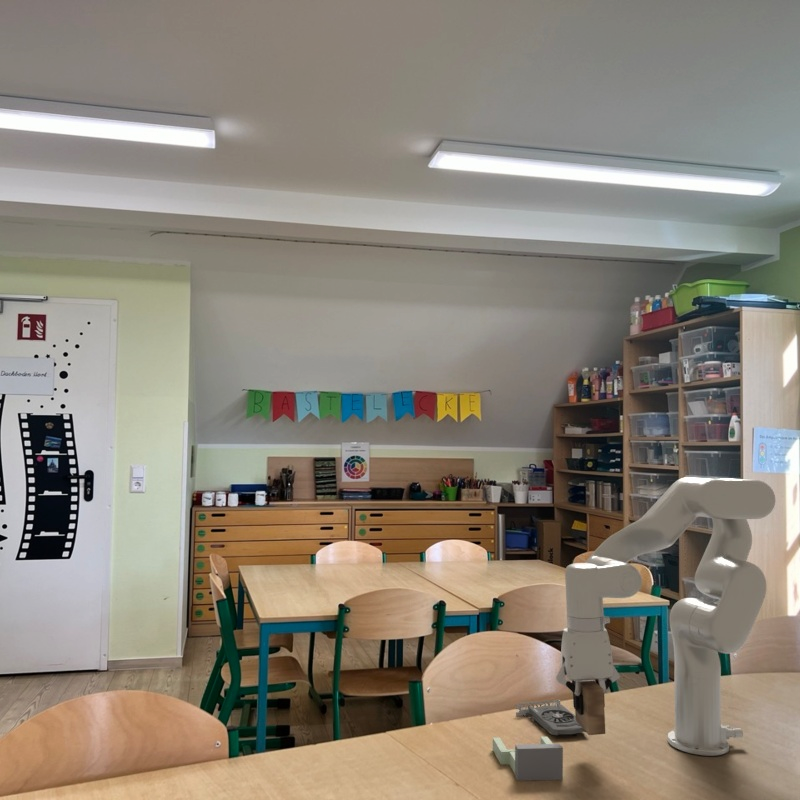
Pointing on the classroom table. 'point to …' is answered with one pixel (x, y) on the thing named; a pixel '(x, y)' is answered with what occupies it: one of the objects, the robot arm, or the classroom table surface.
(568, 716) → the graphics card
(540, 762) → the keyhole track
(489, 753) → the classroom table surface
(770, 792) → the classroom table surface
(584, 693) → the brown wooden block
